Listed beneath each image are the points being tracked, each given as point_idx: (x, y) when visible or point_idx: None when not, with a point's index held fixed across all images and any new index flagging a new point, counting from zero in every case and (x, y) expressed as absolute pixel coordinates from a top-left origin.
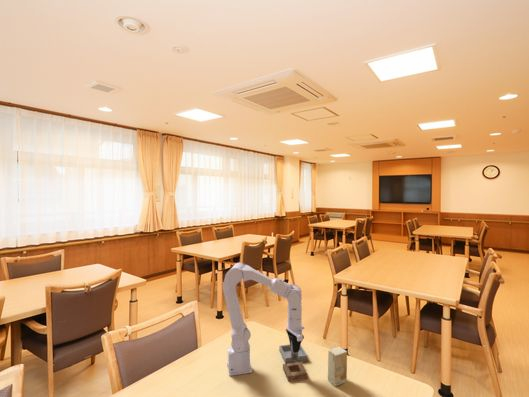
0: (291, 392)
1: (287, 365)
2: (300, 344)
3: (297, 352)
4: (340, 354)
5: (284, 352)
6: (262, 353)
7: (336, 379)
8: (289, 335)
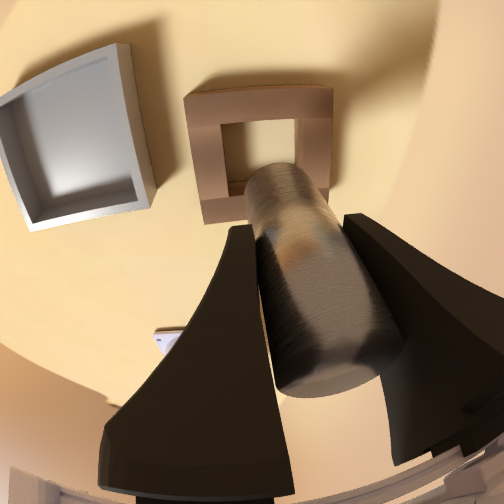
0: (388, 198)
1: (222, 198)
2: (437, 263)
3: (329, 208)
4: None
5: (57, 191)
6: (84, 287)
7: None
8: (403, 462)
